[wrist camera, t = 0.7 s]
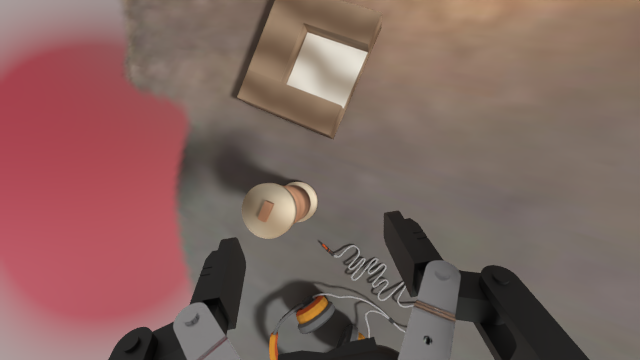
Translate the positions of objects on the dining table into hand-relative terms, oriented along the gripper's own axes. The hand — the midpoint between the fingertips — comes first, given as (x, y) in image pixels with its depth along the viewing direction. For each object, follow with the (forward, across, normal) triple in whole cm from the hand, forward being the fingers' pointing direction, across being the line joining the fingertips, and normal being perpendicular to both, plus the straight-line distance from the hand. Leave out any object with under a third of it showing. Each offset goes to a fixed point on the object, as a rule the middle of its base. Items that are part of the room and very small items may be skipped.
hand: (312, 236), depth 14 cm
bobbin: (+20, +2, +11) cm, 23 cm away
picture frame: (+28, -3, -5) cm, 29 cm away
